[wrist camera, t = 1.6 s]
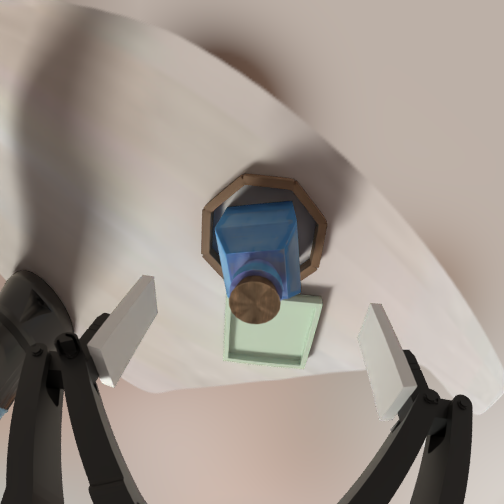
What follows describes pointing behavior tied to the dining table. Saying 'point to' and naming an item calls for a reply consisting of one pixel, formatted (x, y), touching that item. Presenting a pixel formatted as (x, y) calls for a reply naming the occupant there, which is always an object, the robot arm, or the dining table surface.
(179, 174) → the dining table surface
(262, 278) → the perfume bottle
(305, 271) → the ring
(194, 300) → the dining table surface
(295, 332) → the tray
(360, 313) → the dining table surface
